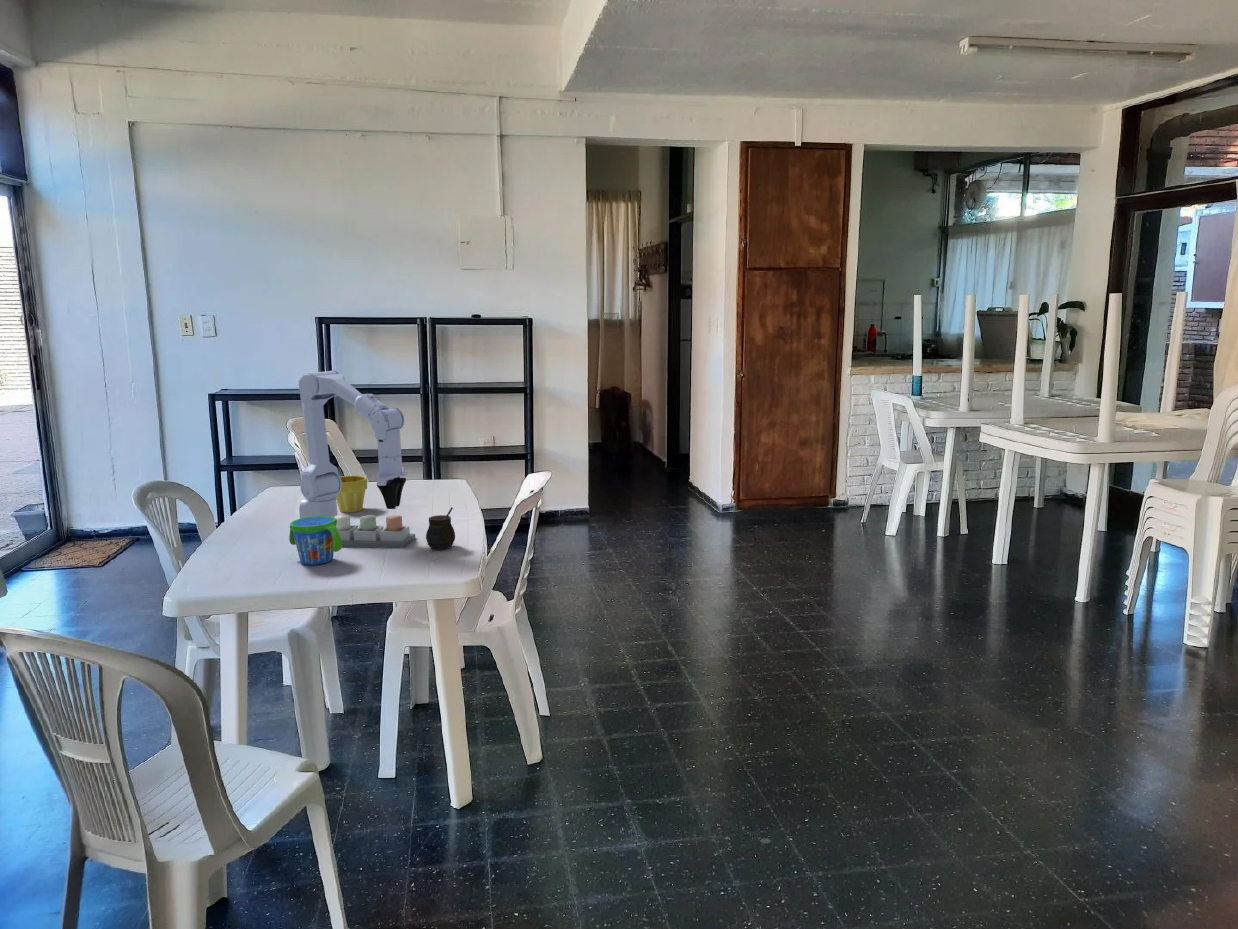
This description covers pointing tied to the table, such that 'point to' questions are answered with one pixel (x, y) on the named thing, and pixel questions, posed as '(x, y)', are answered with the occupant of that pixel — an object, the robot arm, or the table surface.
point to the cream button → (343, 522)
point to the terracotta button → (394, 523)
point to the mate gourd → (440, 532)
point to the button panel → (376, 537)
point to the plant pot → (352, 493)
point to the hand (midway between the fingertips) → (393, 507)
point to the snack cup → (315, 539)
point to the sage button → (368, 523)
